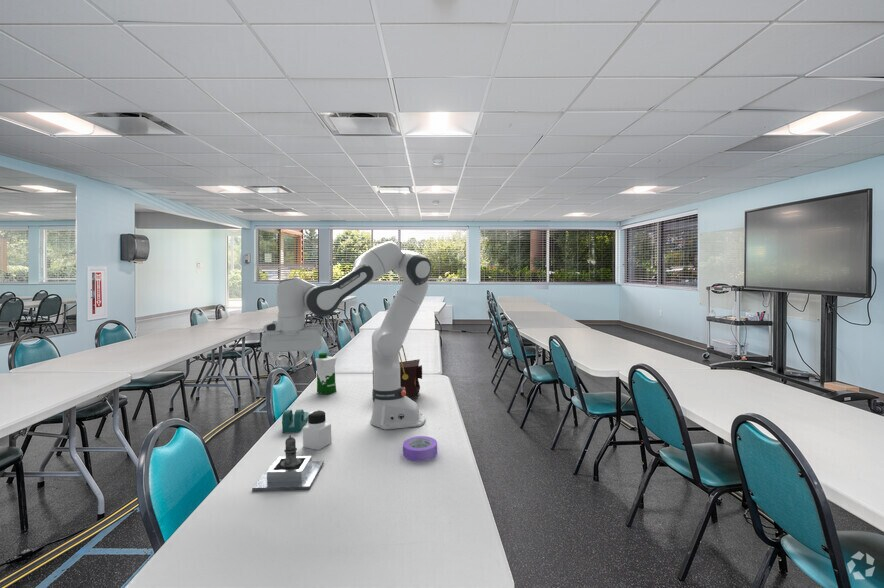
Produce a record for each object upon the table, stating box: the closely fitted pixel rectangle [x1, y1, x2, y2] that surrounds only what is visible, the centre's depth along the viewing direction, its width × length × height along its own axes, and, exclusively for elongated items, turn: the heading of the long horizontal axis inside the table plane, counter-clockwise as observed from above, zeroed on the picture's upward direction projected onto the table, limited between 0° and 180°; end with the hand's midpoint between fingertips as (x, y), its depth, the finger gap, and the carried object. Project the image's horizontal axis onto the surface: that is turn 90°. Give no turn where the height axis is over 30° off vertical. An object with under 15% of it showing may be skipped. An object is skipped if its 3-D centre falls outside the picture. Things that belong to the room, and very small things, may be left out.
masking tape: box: [402, 435, 438, 462], centre depth 139 cm, size 12×12×4 cm
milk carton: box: [314, 352, 337, 395], centre depth 213 cm, size 9×9×20 cm
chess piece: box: [281, 434, 301, 470], centre depth 123 cm, size 6×6×12 cm
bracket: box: [281, 408, 310, 434], centre depth 168 cm, size 18×7×8 cm, turn 5°
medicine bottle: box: [302, 410, 332, 451], centre depth 147 cm, size 7×7×12 cm
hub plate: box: [251, 455, 325, 492], centre depth 124 cm, size 16×16×4 cm
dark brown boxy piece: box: [372, 344, 423, 397], centre depth 203 cm, size 16×23×25 cm
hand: (293, 363), depth 142 cm, fingers open, 8 cm apart
